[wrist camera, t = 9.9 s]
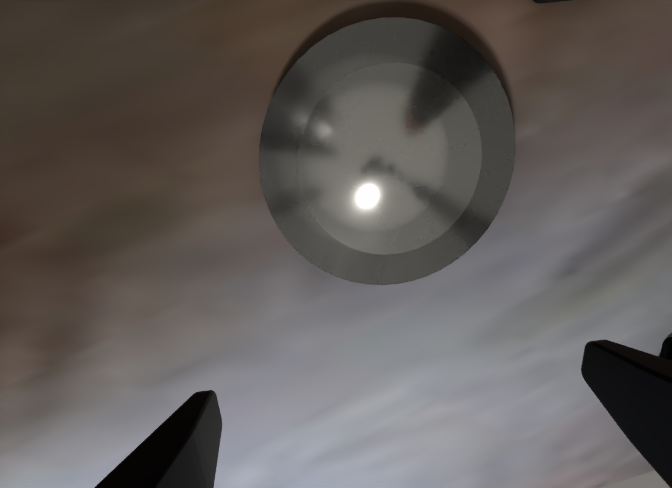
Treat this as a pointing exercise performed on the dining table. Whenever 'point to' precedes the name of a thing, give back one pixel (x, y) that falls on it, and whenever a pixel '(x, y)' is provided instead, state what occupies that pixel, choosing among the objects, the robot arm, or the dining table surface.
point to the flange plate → (387, 151)
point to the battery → (547, 1)
